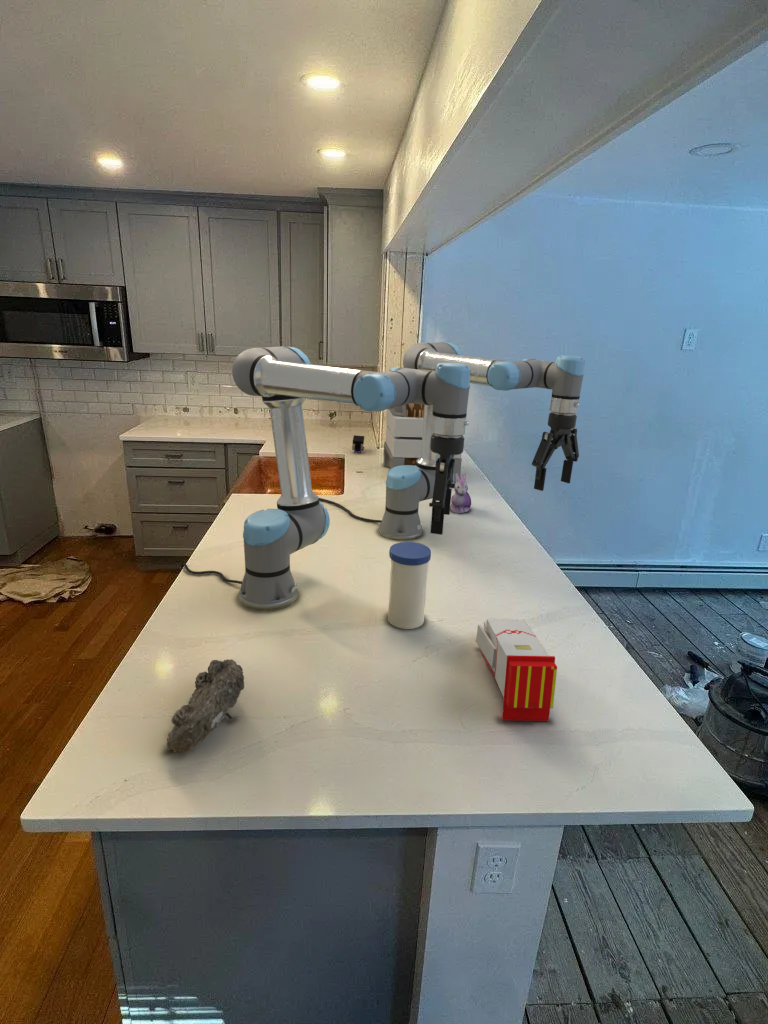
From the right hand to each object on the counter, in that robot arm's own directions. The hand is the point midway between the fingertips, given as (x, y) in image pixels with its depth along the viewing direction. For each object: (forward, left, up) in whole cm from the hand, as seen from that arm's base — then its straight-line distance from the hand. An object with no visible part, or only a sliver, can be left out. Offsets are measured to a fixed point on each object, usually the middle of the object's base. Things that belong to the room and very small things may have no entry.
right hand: (552, 485), depth 166 cm
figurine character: (-151, +48, -28) cm, 161 cm away
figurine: (-53, +23, -28) cm, 64 cm away
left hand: (+2, -49, 0) cm, 49 cm away
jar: (-4, -52, -28) cm, 60 cm away
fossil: (0, -107, -28) cm, 110 cm away
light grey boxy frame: (-101, +46, -28) cm, 115 cm away
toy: (+28, -51, -28) cm, 65 cm away
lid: (-4, -52, -9) cm, 53 cm away
